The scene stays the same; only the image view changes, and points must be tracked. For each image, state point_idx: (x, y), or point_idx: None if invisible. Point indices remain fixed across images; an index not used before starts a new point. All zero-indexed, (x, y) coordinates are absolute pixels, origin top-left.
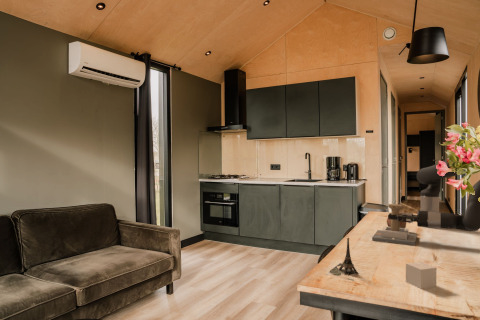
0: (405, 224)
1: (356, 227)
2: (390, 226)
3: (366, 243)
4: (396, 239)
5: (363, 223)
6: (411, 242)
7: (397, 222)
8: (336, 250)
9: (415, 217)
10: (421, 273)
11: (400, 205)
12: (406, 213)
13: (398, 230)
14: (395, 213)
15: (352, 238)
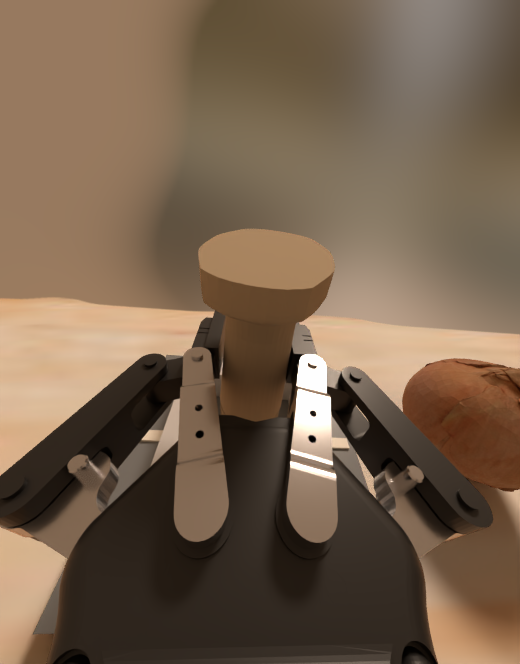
0: (499, 481)
1: (355, 321)
2: (402, 400)
3: (112, 352)
4: (139, 454)
5: (438, 331)
6: (58, 587)
7: (225, 401)
8: (12, 301)
9: (54, 648)
10: None
11: (240, 271)
12: (298, 424)
13: None
14: (225, 331)
15: (185, 320)
